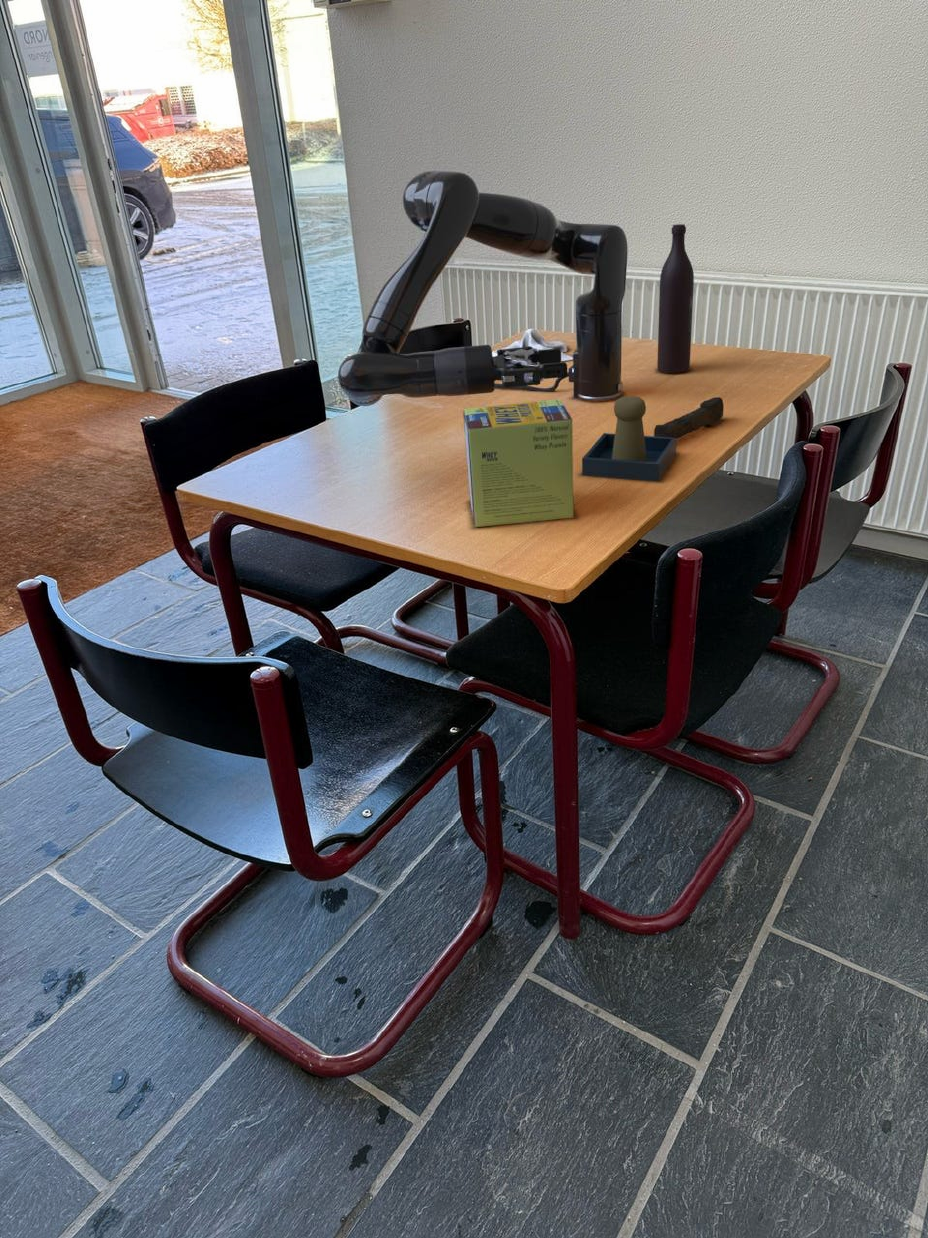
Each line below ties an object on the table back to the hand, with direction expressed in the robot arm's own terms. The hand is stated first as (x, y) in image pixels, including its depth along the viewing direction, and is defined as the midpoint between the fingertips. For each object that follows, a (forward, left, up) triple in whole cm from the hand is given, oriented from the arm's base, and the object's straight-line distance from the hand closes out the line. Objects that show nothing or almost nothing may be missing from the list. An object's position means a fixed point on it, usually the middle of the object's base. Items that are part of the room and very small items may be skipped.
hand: (563, 362), depth 146 cm
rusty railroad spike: (+16, +23, -19) cm, 34 cm away
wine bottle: (+4, +63, -19) cm, 66 cm away
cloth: (-32, +72, -19) cm, 81 cm away
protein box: (-2, -18, -19) cm, 26 cm away
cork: (+10, +4, -18) cm, 21 cm away
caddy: (+10, +5, -18) cm, 21 cm away
